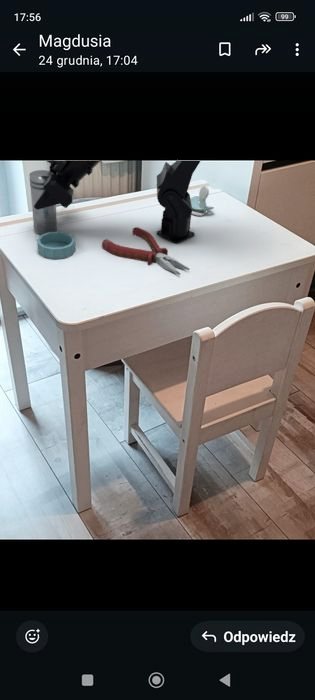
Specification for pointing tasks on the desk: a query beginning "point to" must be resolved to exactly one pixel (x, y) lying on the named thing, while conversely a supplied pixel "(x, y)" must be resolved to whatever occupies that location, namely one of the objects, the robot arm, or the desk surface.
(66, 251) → the ring collar
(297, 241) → the desk surface
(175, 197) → the robot arm
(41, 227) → the piston
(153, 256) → the pliers
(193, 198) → the pacifier
